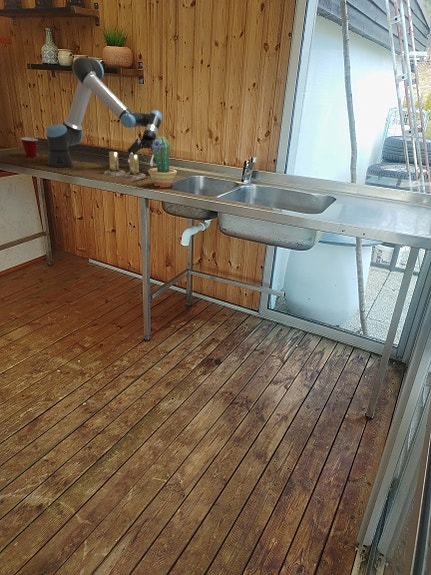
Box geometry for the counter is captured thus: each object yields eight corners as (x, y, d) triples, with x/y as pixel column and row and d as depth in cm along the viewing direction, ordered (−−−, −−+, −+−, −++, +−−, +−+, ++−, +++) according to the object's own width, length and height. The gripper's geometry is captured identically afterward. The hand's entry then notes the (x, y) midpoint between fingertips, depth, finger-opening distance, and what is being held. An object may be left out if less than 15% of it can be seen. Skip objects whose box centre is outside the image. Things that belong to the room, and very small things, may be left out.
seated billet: (108, 173, 231) (107, 152, 225) (113, 172, 235) (112, 151, 229) (115, 174, 229) (114, 153, 224) (120, 173, 233) (119, 152, 228)
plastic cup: (36, 158, 268) (34, 139, 263) (20, 157, 268) (17, 138, 263) (43, 156, 278) (40, 137, 273) (27, 155, 278) (24, 136, 273)
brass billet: (128, 177, 226) (127, 155, 220) (133, 175, 230) (132, 154, 225) (135, 178, 224) (134, 155, 219) (140, 176, 228) (140, 154, 223)
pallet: (100, 176, 228) (100, 171, 227) (115, 173, 240) (115, 168, 239) (134, 182, 220) (133, 177, 219) (148, 178, 232) (148, 173, 230)
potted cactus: (143, 183, 218) (142, 135, 207) (167, 181, 226) (167, 134, 215) (156, 189, 207) (156, 138, 196) (182, 187, 216) (183, 138, 205)
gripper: (171, 140, 238) (161, 170, 232) (133, 136, 243) (122, 165, 237) (168, 131, 231) (158, 162, 225) (128, 128, 236) (118, 157, 230)
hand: (140, 164), depth 231 cm, fingers open, 13 cm apart
